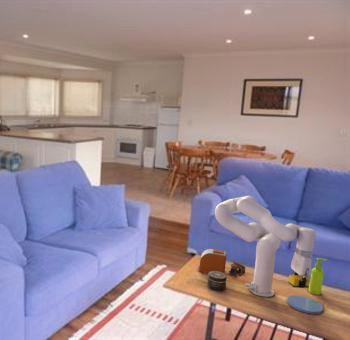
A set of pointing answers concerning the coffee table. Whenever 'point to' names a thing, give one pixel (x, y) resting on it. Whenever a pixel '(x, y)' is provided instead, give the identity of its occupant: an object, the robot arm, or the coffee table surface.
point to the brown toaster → (213, 261)
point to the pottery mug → (235, 271)
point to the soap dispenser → (316, 277)
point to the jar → (217, 280)
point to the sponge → (297, 281)
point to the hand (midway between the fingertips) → (298, 284)
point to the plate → (305, 304)
